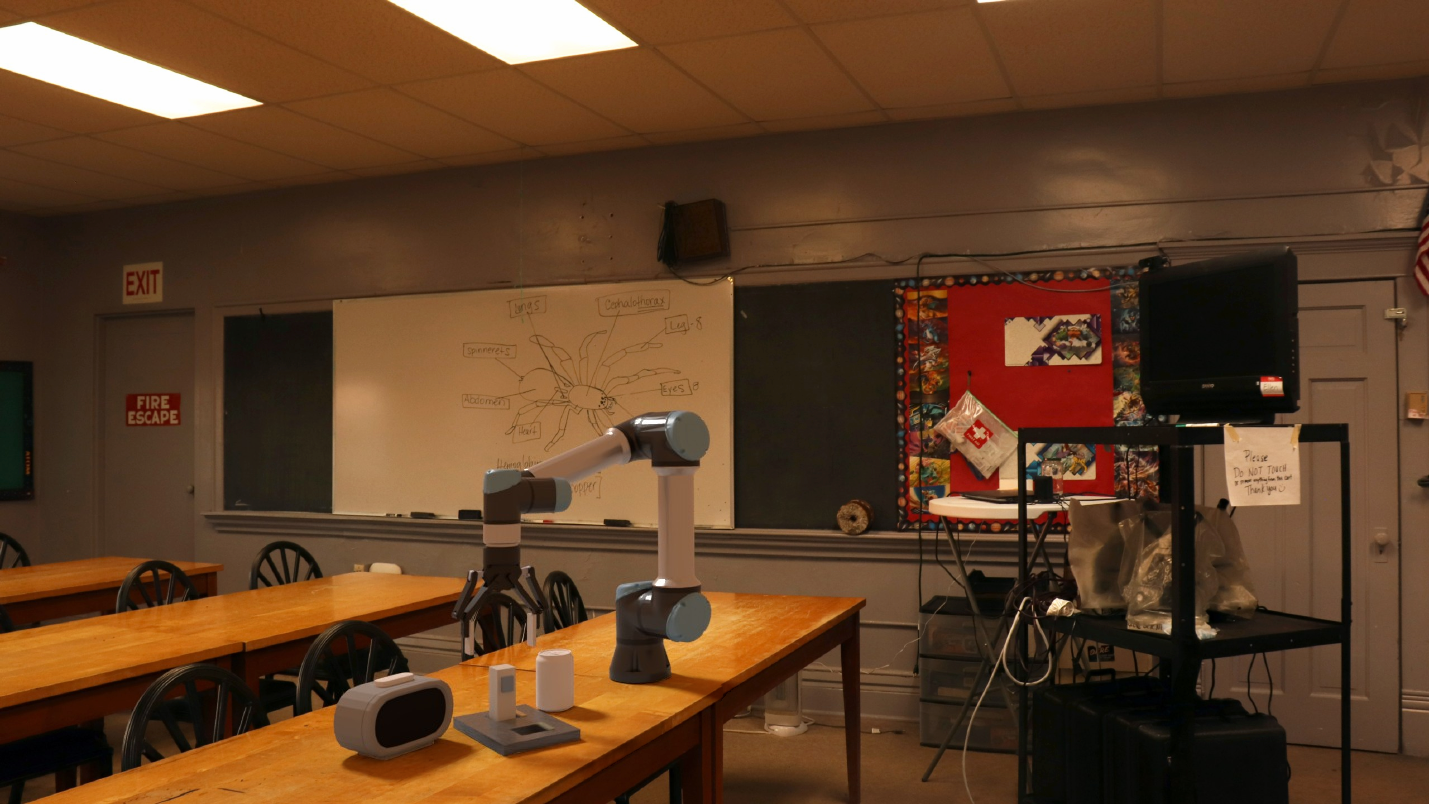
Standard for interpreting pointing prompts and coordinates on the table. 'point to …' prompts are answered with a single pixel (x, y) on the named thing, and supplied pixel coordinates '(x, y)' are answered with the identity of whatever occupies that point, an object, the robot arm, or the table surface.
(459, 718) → the panel
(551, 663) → the beverage can
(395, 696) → the alarm clock
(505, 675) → the plug
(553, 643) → the table surface
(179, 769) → the table surface
